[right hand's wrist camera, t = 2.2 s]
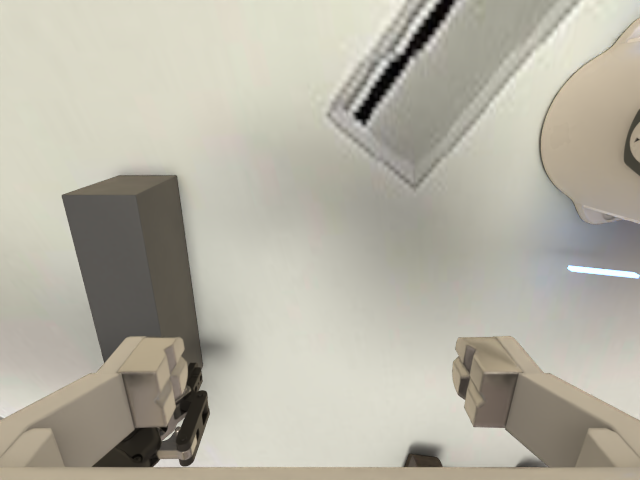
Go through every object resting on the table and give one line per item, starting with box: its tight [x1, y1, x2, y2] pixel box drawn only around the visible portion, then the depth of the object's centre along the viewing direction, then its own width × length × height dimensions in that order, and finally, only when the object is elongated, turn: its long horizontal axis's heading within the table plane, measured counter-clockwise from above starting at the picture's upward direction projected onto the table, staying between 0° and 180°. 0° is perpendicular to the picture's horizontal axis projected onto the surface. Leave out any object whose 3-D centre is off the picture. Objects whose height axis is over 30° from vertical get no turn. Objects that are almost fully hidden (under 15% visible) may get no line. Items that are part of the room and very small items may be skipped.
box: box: [62, 175, 203, 409], centre depth 36 cm, size 24×6×9 cm, turn 0°
